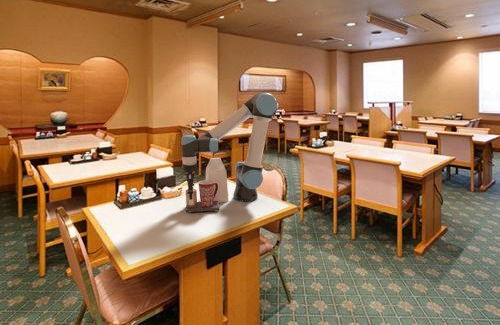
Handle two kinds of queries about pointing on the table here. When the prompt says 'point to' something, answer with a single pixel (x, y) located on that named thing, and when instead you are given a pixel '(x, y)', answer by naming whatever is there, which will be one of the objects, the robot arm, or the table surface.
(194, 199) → the brown short cylinder
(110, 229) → the table surface
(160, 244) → the table surface
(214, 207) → the board
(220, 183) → the milk
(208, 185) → the mug
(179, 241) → the table surface
